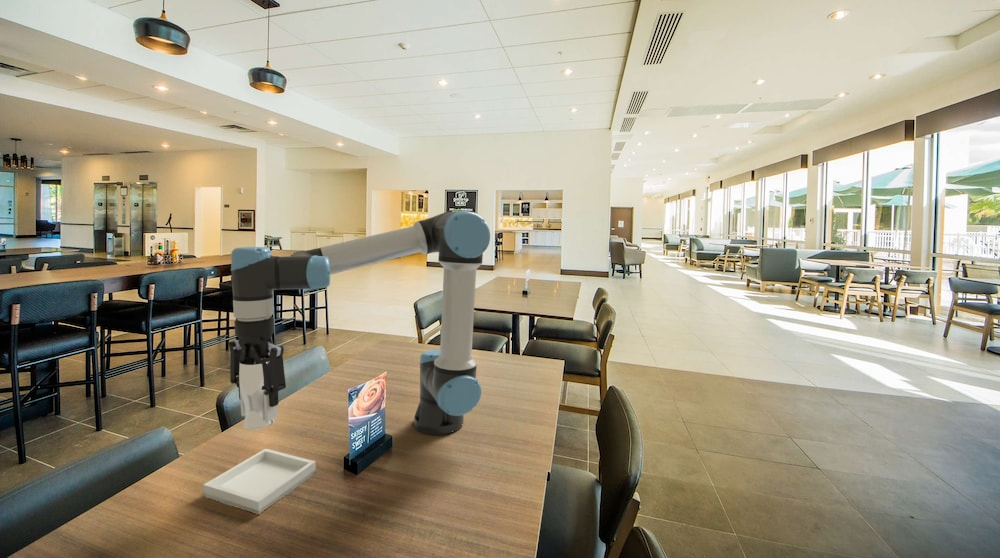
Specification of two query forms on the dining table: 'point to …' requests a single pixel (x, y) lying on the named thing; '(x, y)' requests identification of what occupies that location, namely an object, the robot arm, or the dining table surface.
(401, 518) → the dining table surface
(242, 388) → the beer glass
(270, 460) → the tray
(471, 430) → the dining table surface
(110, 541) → the dining table surface
